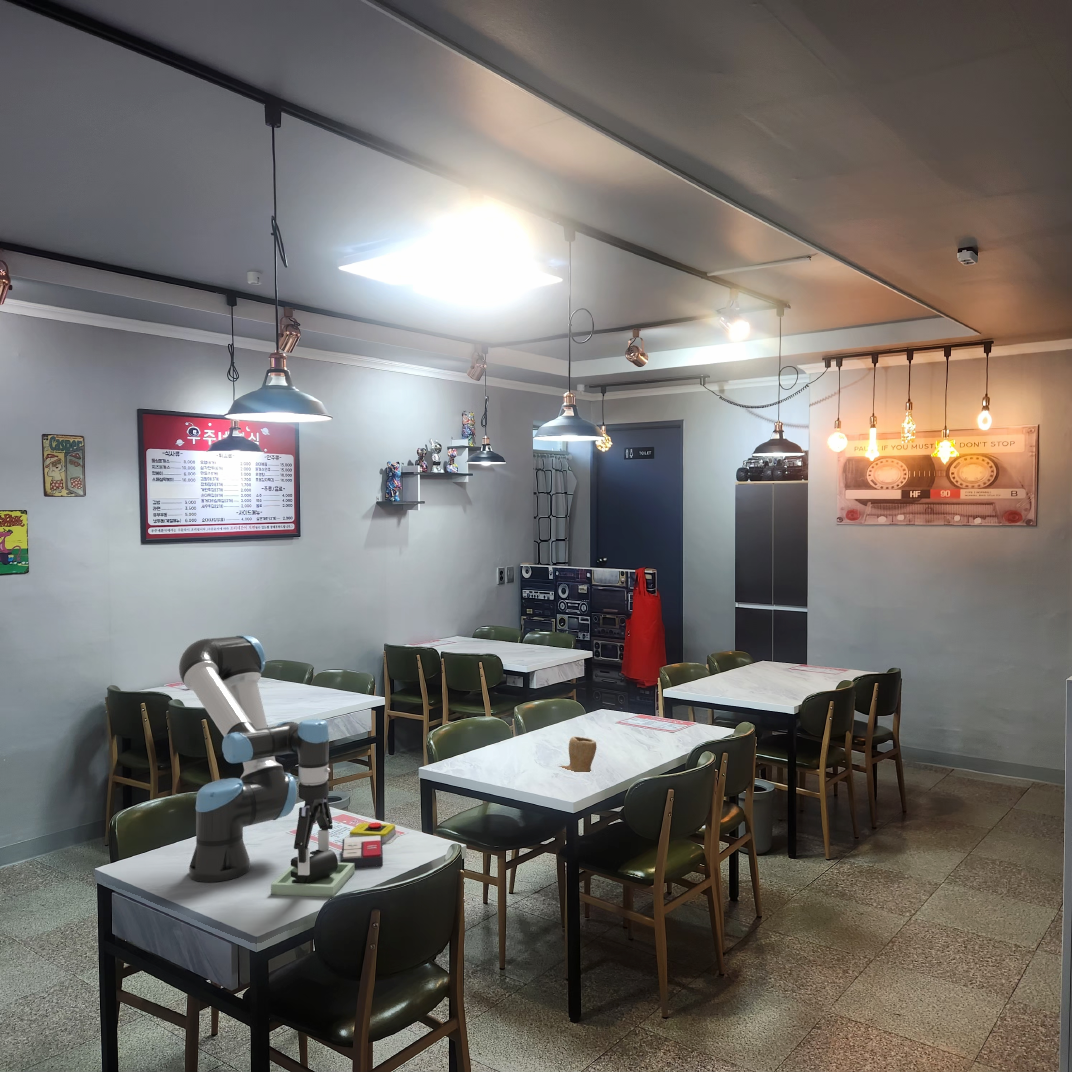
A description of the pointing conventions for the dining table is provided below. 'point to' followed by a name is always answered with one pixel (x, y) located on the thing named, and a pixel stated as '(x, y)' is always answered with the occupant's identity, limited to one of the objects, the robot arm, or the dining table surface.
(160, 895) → the dining table surface
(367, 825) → the emergency button
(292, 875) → the end cap
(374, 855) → the button switch box
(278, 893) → the sage tray
